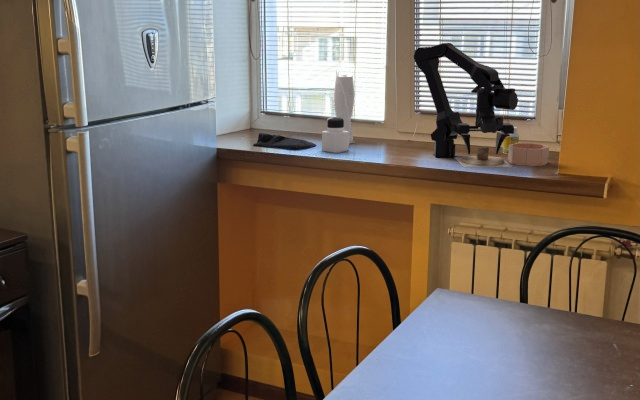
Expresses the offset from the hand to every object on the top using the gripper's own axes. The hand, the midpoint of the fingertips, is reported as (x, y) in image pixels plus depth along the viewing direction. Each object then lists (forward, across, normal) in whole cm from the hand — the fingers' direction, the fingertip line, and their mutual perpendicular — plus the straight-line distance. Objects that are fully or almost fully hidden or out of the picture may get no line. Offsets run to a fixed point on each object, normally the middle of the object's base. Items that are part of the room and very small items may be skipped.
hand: (482, 154), depth 254 cm
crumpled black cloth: (+4, -66, +36) cm, 76 cm away
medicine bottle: (+3, -48, +25) cm, 54 cm away
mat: (+3, 0, 0) cm, 3 cm away
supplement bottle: (+3, +14, +17) cm, 22 cm away
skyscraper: (+3, -44, +42) cm, 61 cm away
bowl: (+3, +15, -1) cm, 15 cm away
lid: (+3, 0, 0) cm, 3 cm away
